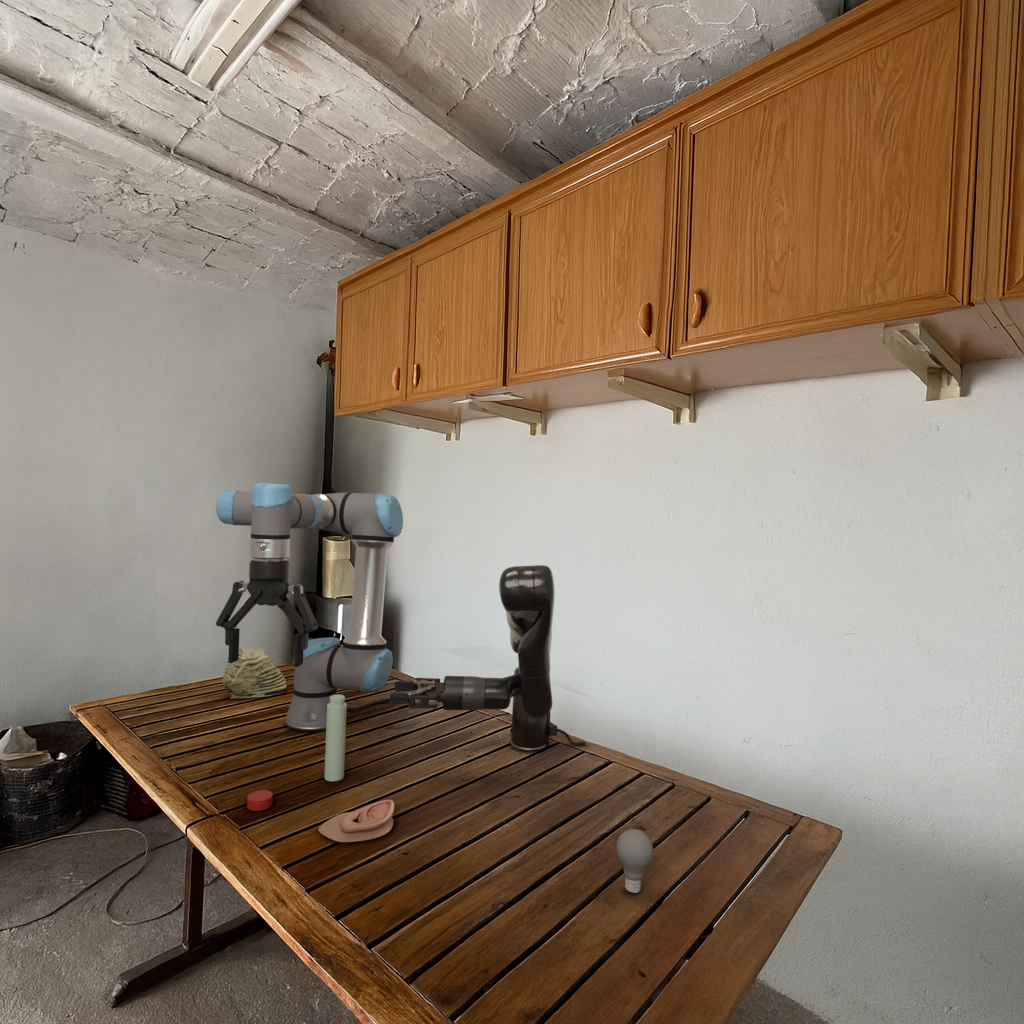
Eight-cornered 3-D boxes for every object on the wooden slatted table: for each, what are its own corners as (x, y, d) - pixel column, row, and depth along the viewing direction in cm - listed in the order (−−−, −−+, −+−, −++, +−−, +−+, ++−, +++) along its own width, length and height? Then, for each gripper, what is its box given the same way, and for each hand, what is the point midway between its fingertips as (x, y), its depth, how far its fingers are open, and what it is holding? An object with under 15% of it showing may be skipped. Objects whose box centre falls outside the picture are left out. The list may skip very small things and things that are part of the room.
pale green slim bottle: (345, 779, 142) (349, 698, 142) (326, 782, 140) (329, 700, 140) (341, 771, 146) (344, 693, 146) (322, 774, 144) (325, 694, 144)
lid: (247, 801, 131) (248, 791, 131) (272, 798, 132) (273, 789, 132) (246, 812, 126) (246, 802, 126) (272, 809, 128) (272, 799, 128)
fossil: (218, 695, 195) (220, 647, 195) (278, 685, 208) (279, 640, 207) (228, 703, 189) (230, 653, 188) (289, 692, 201) (290, 645, 201)
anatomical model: (310, 816, 117) (339, 789, 129) (309, 837, 117) (338, 808, 129) (377, 827, 115) (401, 798, 126) (376, 848, 115) (400, 818, 126)
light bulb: (610, 879, 108) (613, 822, 108) (644, 879, 109) (647, 822, 109) (619, 902, 102) (622, 840, 102) (655, 901, 103) (658, 840, 103)
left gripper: (200, 557, 125) (196, 664, 126) (323, 564, 124) (318, 672, 124) (219, 554, 133) (216, 655, 133) (336, 560, 131) (332, 662, 132)
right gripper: (465, 668, 151) (396, 666, 150) (464, 686, 137) (389, 685, 136) (464, 699, 151) (395, 698, 150) (463, 720, 137) (387, 719, 136)
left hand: (265, 663), depth 129 cm, fingers open, 13 cm apart
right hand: (392, 691), depth 143 cm, fingers open, 8 cm apart
